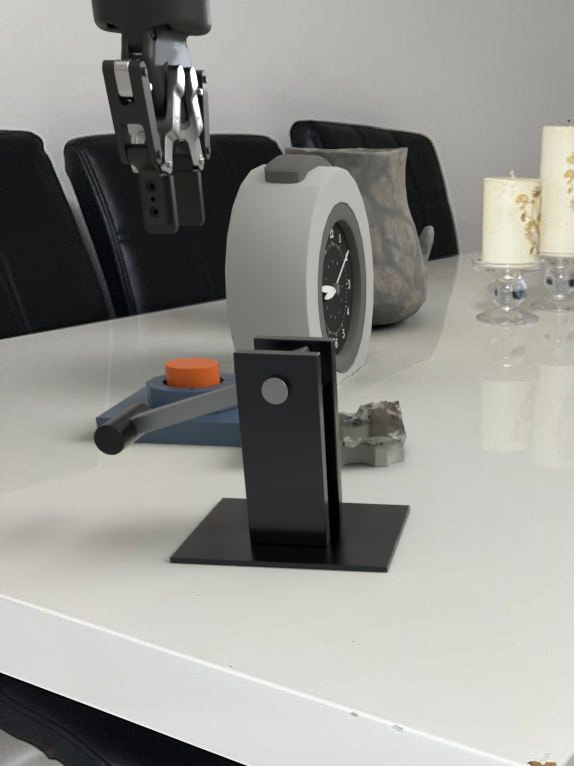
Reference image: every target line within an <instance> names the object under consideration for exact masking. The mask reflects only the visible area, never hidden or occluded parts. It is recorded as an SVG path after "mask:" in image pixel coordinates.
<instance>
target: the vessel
mask: <svg viewBox="0 0 574 766" xmlns="http://www.w3.org/2000/svg"><path fill="white" fill-rule="evenodd" d="M283 149H284V151H283V152H284V154H293V155H316V156H320V157H322V158H324V159H325V160H327V161H328V162H329V163H330V164H331V165H332V166H333V167H339V168H342V169H345V170H347V171H348V172H349V173H350V175H351V176H352V178H353V179H354V180H355V182H356V184H357V186H358V189H359V191H360V194H361V196H362V199H363V203H364V207H365V211H366V215H367V220H368V225H369V232H370V239H371V246H372V260H373V314H372V326H386V325H391V324H394V323H398V322H402V321H404V320H407V319H409V318H411V317H413V316H414V315H415V314H416V313H417V312H419V310H420V309H421V308H422V306H423V305H424V303H425V301H426V299H427V294H428V291H429V277H428V272H427V267H428V261H429V258H430V256H431V252H432V248H433V245H434V239H435V229H434V227H433V226H432V225H426V226H425V227H423V229H422V231H421V233H420V235H419V236H418V231H417V228H416V227H417V226H416V224H415V221H414V219H413V217H412V214H411V210H410V207H409V203H408V197H407V196H408V195H407V188H406V187H407V186H406V168H407V167H406V165H407V158H408V152H409V151H408V149H409V148H408V147H406V146H405V147H398V148H367V147H356V148H353V147H351V148H335V149H333V148H332V149H330V148H329V149H328V148H317V147H316V148H315V147H295V146H289V147H288V146H287V147H284V148H283Z"/></svg>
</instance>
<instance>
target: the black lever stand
mask: <svg viewBox="0 0 574 766" xmlns="http://www.w3.org/2000/svg"><path fill="white" fill-rule="evenodd" d="M253 341H254V350H242V349H239V350H237V351H235V350H234V352H233V353H232V359H233V360H232V361H233V369H234V375H235V381H236V392H237V403H238V414H239V425H240V436H241V447H240V448H241V455H242V466H243V477H244V489H245V498H242V497H241V498H240V497H222V498H221V499H220V500H219V501H218V502H217V504H216V505H214V507H213V508H212V509H211V510H210V512H209V513H208V514H207V515H206V516H205V517H204V518H203V520H202V521H200V523H199V524H198V525H197V526H196V527H195V528H194V529H193V530H192V532H191V533H190V534H189V535H188V536H187V538H186V539H184V541H183V542H181V544H180V545H179V546H178V548H177V549H176V550H174V552H173V553H172V554H171V556H169V563H170V564H180V565H181V564H184V565H203V566H205V565H206V566H227V567H229V566H230V567H250V568H251V567H252V568H270V569H271V568H273V569H275V568H276V569H295V570H297V569H298V570H299V569H300V570H317V571H318V570H321V571H343V572H362V573H363V572H364V573H388V572H389V569H390V567H391V565H392V561H393V558H394V556H395V553H396V550H397V547H398V544H399V542H400V539H401V537H402V534H403V531H404V529H405V526H406V523H407V520H408V518H409V515H410V512H411V505H410V504H390V503H388V504H387V503H385V504H384V503H364V502H363V503H362V502H343V487H342V486H343V484H342V467H341V462H340V440H339V418H338V413H339V401H338V399H339V397H338V384H337V374H336V352H335V338H328V337H298V336H267V335H258V336H256V337H255V338H254V339H253ZM306 346H308V348H309V351H310V352H302V351H293V350H296V349H300V348H303V347H306ZM322 386H323V388H322Z"/></svg>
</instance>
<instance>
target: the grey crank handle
mask: <svg viewBox="0 0 574 766" xmlns="http://www.w3.org/2000/svg"><path fill="white" fill-rule="evenodd" d="M293 351H302V352H310V351H309V348H308V346H306V347H303V348H300V349H296V350H293ZM322 388H323V386H322ZM236 405H238V403H237V392H236V384H233V385H229V386H226V387H223V388H220V389H216V390H213V391H210V392H207V393H203V394H200V395H197V396H194V397H190V398H187V399H184V400H181V401H178V402H174V403H171V404H168V405H165V406H161V407H158V408H155V409H151V408H150V407H149V406H147V405H146V404H143V403H135V404H133V405H131V406H130V407H128V408H127V409H125V410H124V411H122V412H121V413H119V414H118V415H116V416H115V417H113V418H112V419H110V420H109V421H107V422H106V423H104V424H103V425H101V426H100V427H98V428H97V427H96V429H95V430H94V433H93V441H94V444H95V447H96V448H97V449H98V450H99V451H100V452H101V453H103V454H105V455H109V456H116V455H118V454H120V453H122V451H124V450H125V449H126V448H128V447H129V446H131V445H132V444H134V443H133V442H134V441H136V440H137V439H138V438H140V437H141V436H142V435H144V434H145V433H147V432H151V431H154V430H157V429H161V428H164V427H167V426H170V425H174V424H177V423H180V422H184V421H187V420H190V419H193V418H197V417H200V416H203V415H207V414H210V413H213V412H216V411H220V410H223V409H226V408H230V407H233V406H236Z"/></svg>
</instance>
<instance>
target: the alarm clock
mask: <svg viewBox="0 0 574 766" xmlns="http://www.w3.org/2000/svg"><path fill="white" fill-rule="evenodd" d="M229 219H230V220H229V224H228V230H227V235H226V246H225V247H226V248H225V263H224V264H225V265H224V277H225V301H226V311H227V317H228V323H229V331H230V335H231V336H230V337H231V340H232V344H233V347H234V352H235V351H237V350H239V349H242V350H254V341H253V339H254V338H255V337H256V336H258V335H267V336H298V337H328V338H335V352H336V374H337V385H339V384H341V383H343V382H344V381H345V380H347V378H349V377H350V376H351V375H353V374H354V373H356V372H357V371H359V370H360V369H361V368H362V367H364V366H365V365H366V361H367V357H368V353H369V347H370V340H371V334H372V326H373V325H372V314H373V260H372V246H371V239H370V232H369V225H368V220H367V215H366V211H365V207H364V203H363V199H362V196H361V194H360V191H359V189H358V186H357V184H356V182H355V180H354V179H353V178H352V176H351V175H350V173H349V172H348V171H347V170H345V169H342V168H339V167H333V166H332V165H331V164H330V163H329V162H328V161H327V160H325V159H324V158H322V157H320V156H316V155H293V154H285V153H284V154H283V153H282V154H280V155H277V156H276V157H274V158H273V159H272V160H270V161H269V162H268V163H267V164H266V163H265V164H263V163H262V164H261V165H259V166H257V167H255V168H253V169H251V170H250V171H249V172H248V174H247V175H246V177H245V178H244V180H243V181H242V182H241V184H240V186H239V188H238V191H237V194H236V196H235V199H234V202H233V204H232V208H231V213H230V218H229Z"/></svg>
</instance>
